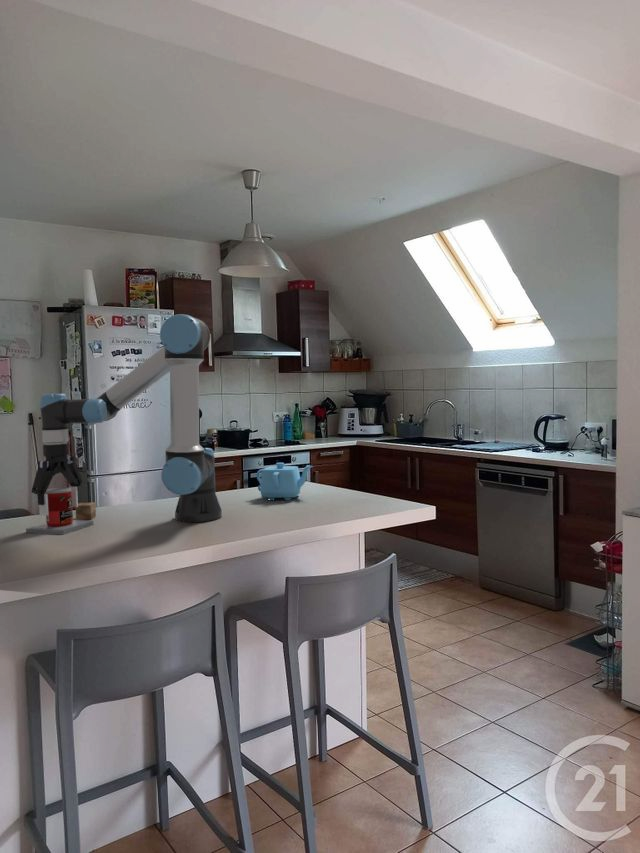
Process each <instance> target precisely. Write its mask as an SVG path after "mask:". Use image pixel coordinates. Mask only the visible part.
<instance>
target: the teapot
mask: <svg viewBox="0 0 640 853" xmlns="http://www.w3.org/2000/svg"><path fill="white" fill-rule="evenodd" d="M275 465H276V466H275ZM275 465H274V466H272V465H271V466H267V467H265V468H261V469H259V470H258V471H257V472H256V474H255V475H256V479H257V481H258V482H259V485H258V486H257V490H258V491H259V492H260V495H261V498H267V500H268V499H270V500H269V501H274V500H273V499H276V498H283V499H285V500H284V501H291V500H292V498H296V497H297V496H298V495H299V494H301V490H302V487H303V486H304V484H305V483H306V480H307V475H308V471H309V470H310V469H311V468H313V465H308V466H305V467H304V468H303V469H302V472H301V474H300V470H299V466H296V465H293V466H292V465H289V466H285V463H284V462H276V463H275ZM260 474H261V475H260ZM290 499H291V500H290Z"/></svg>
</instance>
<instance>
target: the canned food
mask: <svg viewBox="0 0 640 853" xmlns="http://www.w3.org/2000/svg"><path fill="white" fill-rule="evenodd" d="M45 494H47V495H48V513H49V515H47V516H45V518H46V519H45V523H47V525H48V526H51V527H58V526H66V525H70V524H72V522H73V520H74V514H73V512H74V511H73V507H72V492H71V488H69V487H54V488H52V487H51V488H47V490H46V492H45Z"/></svg>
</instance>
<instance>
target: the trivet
mask: <svg viewBox="0 0 640 853" xmlns="http://www.w3.org/2000/svg"><path fill="white" fill-rule="evenodd" d="M93 525H95V524H94V520H76V519H73V522H72V524H70V525H66V526H58V527H51V526H48V525H47V523H46V522H44V523H39V524H36V525H33V526H30V527H26V528H25V533H31V534H32V533H33V534H50V535H52V534H53V535H66V534H70V533H73V532H75V531H79V530H82V529H84V528H87V527H90V526H93Z"/></svg>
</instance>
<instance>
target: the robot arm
mask: <svg viewBox="0 0 640 853" xmlns="http://www.w3.org/2000/svg"><path fill="white" fill-rule="evenodd" d="M160 327H161V328H160V330H159V338H160V342H161V344H162V347H161V348H160V349H158V351H156V352H155V353H153V354H151V355H150V357H148V358H146V360H144V361H142V363H141V364H139V365H138V366H137V367H135V368H134V369H132V371H130V372H129V373H127V374H126V375H125V376H124V377H122V378H121V379H120V380H119V381H117V382H116V383H115V384H114V385H112V386H111V387H110V388H109V389H107V390H106V391H105V392H103V393H102V394H101V395H99V396H97V397H96V398H85V399H84V398H81V399H79V398H77V399H68V398H67V395H66V394H65V393H44V394H42V395H41V396H40V407H39V408H40V418H41V430H42V431H41V432H42V443H43V445H42V455H43V457H45V460H38V461H37V470H36V474H35V478H34V480H33V485H32V488H31V493H32V494H34V495H37V505H38V510H39V512H38V513H39V516H45V517H46V516H47V515H49V513H48V495H47V494H45V492H46V490H47V489H49V486H50V484H51V482H52V479H53V478H54V476H56V475H58V474H59V473H61V474H62V476H63V477H64V478H65V480H66V481H67V482H68V484H69V485H70V486H68V488H71V492H72V508H76V507H78V504H79V502H78V501H79V498H78V497H79V487H81V486H82V484H83V479H82V476H81V473H80V471H79V469H78V467H77V464H76V460H75V456H69V455H70V446H69V443H68V442H69V440H70V438H69V426H68V425H73V424H74V425H75V424H76V425H77V424H78V425H79V424H92V425H94V424H100V423H101V424H102V423H104V422H107V421H110V420H112V419H114V418H115V417H116V416H117V414H118V412H120V411H121V410H122V409H123V408H124V407H126V406H127V405H128V404H130V403H131V402H132V401H133V400H136V398H138V397H139V396H140V395H142V394H143V393H144V392H146V391H147V390H148V389H149V388H151V387H152V386H153V385H155V384H156V383H158V381H160V380H161V379H163V378H164V377H166V376H167V375H168V374H169V386H170V387H169V392H170V393H169V394H170V395H169V397H170V398H169V399H170V400H169V401H170V403H169V405H170V407H169V409H170V413H169V414H170V415H169V417H170V418H169V420H170V423H169V424H170V426H169V427H170V444H169V446H167V448H166V449H165V463H164V464H163V466H162V469H161V475H160V476H161V482H162V483H163V485H164V487H165V488H166V489H167V490H168V491H169V492H171V493H172V494H175V495H179V496H178V500H177V504H176V508H175V511H174V518H175V519H174V520H176V521H178V522H180V523H181V522H182V523H183V522H184V523H199V522H200V523H202V522H208V521H214V520H217V519H220V518H222V515H223V513H222V508H221V505H220V502H219V499H218V496H217V494H216V473H215V472H216V471H215V465H216V464H215V460H216V459H215V458H216V457H215V451H214V449H213V448H211V447H203V446H202V445H201V444H200V383H199V382H200V380H199V379H200V373H199V370H200V368H199V367H200V365H201V364H202V362H204V360H205V358H204V357H205V354H204V353H205V350H206V349H207V348H208V346H209V344H210V341H211V331H210V330H209V327H208V325H207V324H206V322H204V321H203V320H201V319H199V318H197V317H193V316H192V315H189V314H183V313H180V314H173V315H171V316H170V317H168V318H167V319H166V320H165V321H164V322H163V323H162V325H161V326H160Z"/></svg>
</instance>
